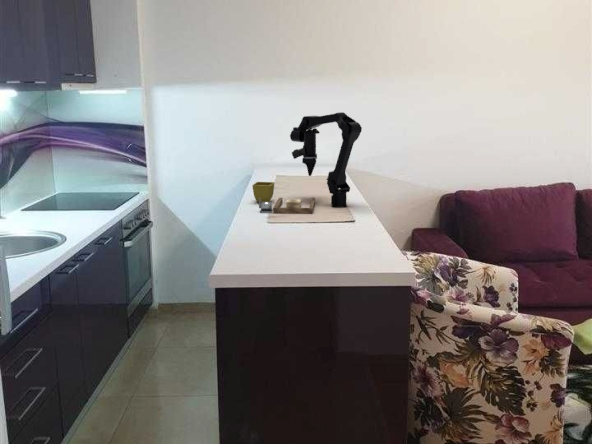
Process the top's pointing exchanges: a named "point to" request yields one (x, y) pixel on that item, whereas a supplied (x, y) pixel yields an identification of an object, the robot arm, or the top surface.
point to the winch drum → (265, 206)
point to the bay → (293, 210)
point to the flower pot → (263, 191)
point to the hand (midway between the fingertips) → (309, 175)
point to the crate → (293, 203)
